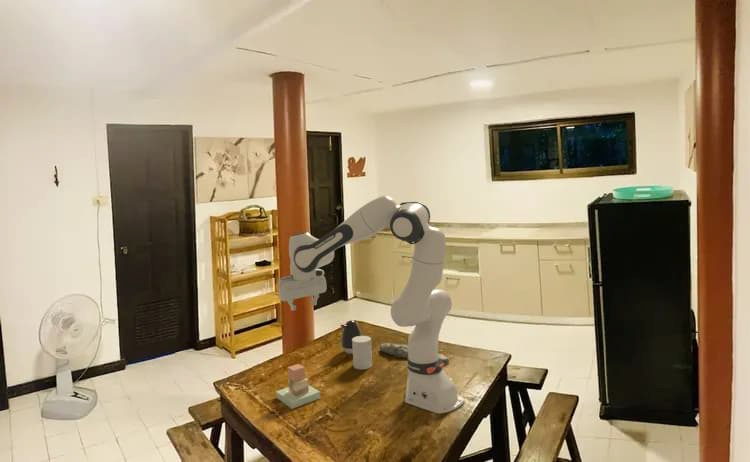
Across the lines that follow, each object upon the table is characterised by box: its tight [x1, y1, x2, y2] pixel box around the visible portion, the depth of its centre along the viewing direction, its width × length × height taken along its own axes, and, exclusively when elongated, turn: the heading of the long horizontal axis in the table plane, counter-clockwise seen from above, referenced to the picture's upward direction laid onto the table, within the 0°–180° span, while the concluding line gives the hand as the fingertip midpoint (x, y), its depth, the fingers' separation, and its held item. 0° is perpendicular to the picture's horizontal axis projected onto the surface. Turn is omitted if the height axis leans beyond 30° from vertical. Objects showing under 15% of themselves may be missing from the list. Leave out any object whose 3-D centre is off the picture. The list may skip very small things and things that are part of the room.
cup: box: [352, 335, 373, 370], centre depth 209 cm, size 8×8×12 cm
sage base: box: [275, 384, 321, 410], centre depth 182 cm, size 12×12×3 cm
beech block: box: [287, 377, 309, 397], centre depth 181 cm, size 6×6×5 cm
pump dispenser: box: [340, 319, 363, 355], centre depth 225 cm, size 10×10×15 cm
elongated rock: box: [379, 342, 450, 366], centre depth 218 cm, size 35×5×10 cm
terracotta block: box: [287, 363, 306, 382], centre depth 181 cm, size 4×4×4 cm
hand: (303, 307), depth 192 cm, fingers open, 8 cm apart
